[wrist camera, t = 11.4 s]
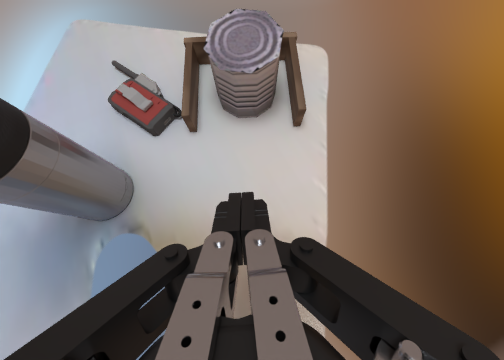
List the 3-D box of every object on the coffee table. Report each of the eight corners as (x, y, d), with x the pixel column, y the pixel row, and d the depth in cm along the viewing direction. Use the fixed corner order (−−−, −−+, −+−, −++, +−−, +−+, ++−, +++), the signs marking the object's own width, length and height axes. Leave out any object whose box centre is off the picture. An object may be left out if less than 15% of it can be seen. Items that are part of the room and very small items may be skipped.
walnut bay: (188, 132, 39) (178, 115, 34) (191, 60, 44) (184, 37, 40) (302, 125, 39) (308, 108, 34) (291, 55, 44) (296, 31, 40)
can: (287, 97, 41) (299, 39, 30) (241, 129, 39) (235, 81, 28) (251, 62, 44) (249, -3, 33) (206, 90, 42) (188, 32, 31)
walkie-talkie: (192, 109, 41) (120, 64, 45) (184, 94, 37) (107, 45, 41) (161, 142, 39) (89, 92, 43) (149, 130, 35) (71, 75, 38)
